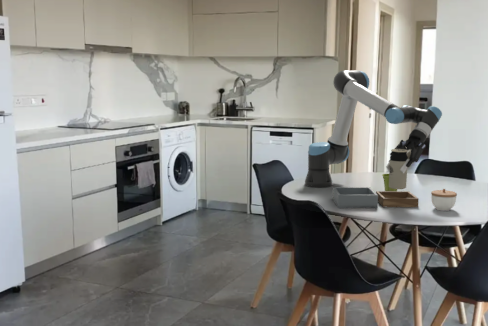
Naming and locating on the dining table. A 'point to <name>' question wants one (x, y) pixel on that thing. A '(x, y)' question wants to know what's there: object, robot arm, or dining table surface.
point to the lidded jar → (443, 199)
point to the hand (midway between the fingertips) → (394, 170)
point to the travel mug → (397, 169)
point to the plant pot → (387, 183)
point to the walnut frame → (397, 199)
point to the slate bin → (355, 197)
